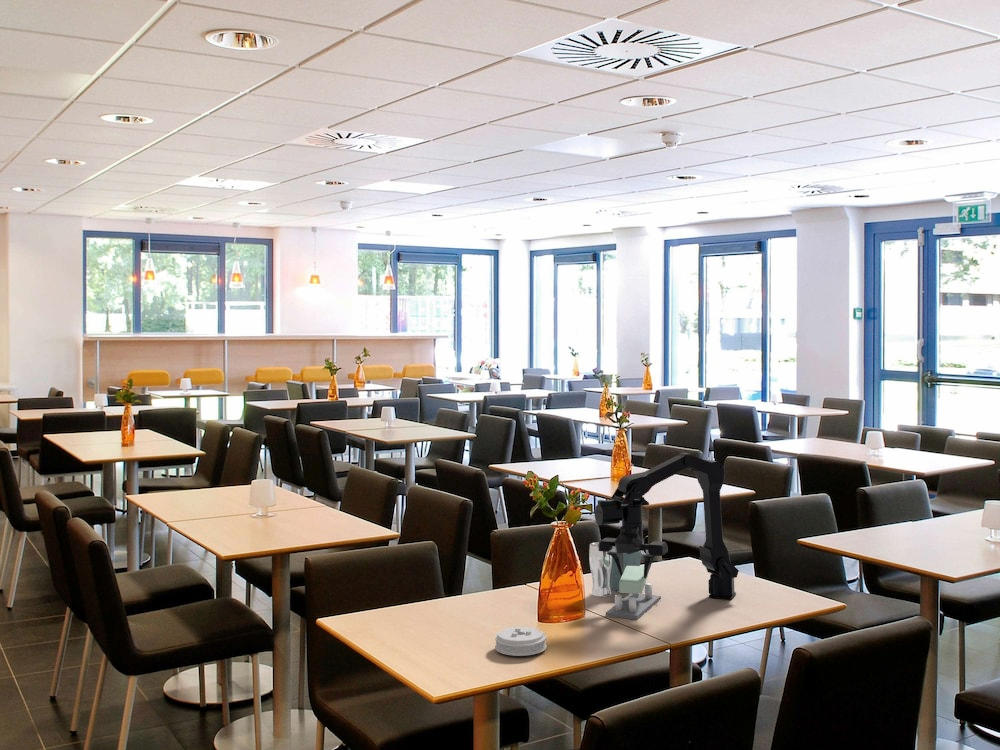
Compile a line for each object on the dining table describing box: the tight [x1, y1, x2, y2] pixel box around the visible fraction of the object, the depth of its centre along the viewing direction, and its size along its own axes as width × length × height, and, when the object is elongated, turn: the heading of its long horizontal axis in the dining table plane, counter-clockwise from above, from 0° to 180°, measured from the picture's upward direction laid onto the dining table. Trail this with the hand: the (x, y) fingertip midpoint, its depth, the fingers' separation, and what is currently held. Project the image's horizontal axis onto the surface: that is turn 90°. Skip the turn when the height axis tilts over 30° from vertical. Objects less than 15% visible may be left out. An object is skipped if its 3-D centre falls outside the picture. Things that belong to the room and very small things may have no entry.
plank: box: [618, 565, 649, 594], centre depth 259 cm, size 6×18×3 cm, turn 166°
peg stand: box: [605, 582, 662, 621], centre depth 259 cm, size 9×21×5 cm, turn 153°
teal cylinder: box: [611, 550, 642, 592], centre depth 279 cm, size 10×10×12 cm
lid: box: [494, 626, 548, 657], centre depth 227 cm, size 13×13×5 cm
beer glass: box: [588, 541, 613, 598], centre depth 273 cm, size 7×7×15 cm
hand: (633, 577), depth 259 cm, fingers closed on plank, 6 cm apart
